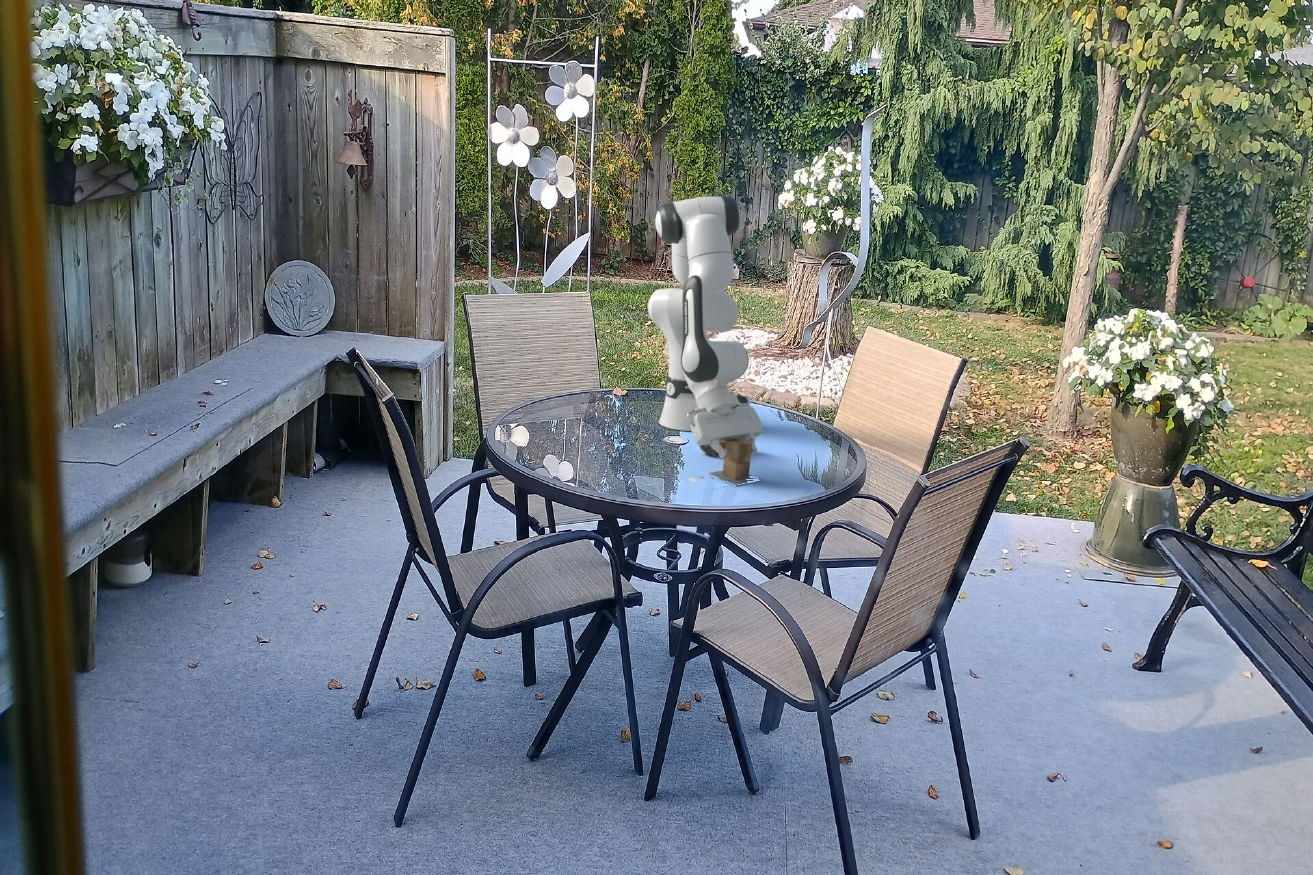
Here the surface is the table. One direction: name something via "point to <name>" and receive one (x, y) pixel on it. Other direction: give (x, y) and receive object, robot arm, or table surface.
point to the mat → (721, 476)
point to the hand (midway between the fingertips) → (739, 454)
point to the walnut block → (737, 459)
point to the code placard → (693, 479)
